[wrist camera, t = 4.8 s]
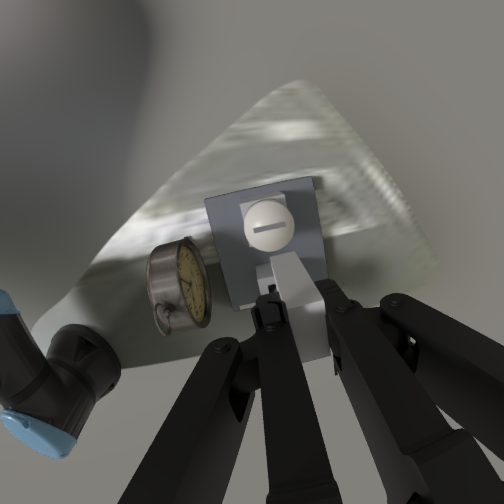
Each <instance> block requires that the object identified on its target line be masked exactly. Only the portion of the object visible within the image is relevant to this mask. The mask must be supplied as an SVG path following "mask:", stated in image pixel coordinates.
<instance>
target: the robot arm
mask: <svg viewBox="0 0 504 504" xmlns="http://www.w3.org/2000/svg"><path fill="white" fill-rule="evenodd" d="M270 261H271V265H272V270H273V274H274V279H275V283H276V288H277V292H273V293H269V294H264V295H260V296H259V297H258V298H257V300H256V301H255V303H256V305H255V306H254V307H253V308H252V309H251V314H252V318H253V322H254V325H255V329H256V333H255V334H254V335H253V336H252V337H251V338H249V339H247V340H245V341H243V342H241V343H239V342H238V340H237V339H235V338H233V337H224V338H219V339H216V340H214V341H213V342H211V343H209V344H208V346H207V347H206V348H205V350H204V352H203V353H202V355H201V357H200V359H199V361H198V362H197V364H196V366H195V368H194V370H193V371H192V373H191V375H190V377H189V378H188V380H187V382H186V384H185V386H184V387H183V389H182V391H181V393H180V395H179V396H178V398H177V400H176V402H175V403H174V405H173V407H172V409H171V410H170V412H169V414H168V416H167V418H166V420H165V421H164V423H163V425H162V426H161V428H160V430H159V432H158V434H157V435H156V437H155V439H154V441H153V442H152V444H151V446H150V447H149V449H148V451H147V453H146V454H145V456H144V458H143V460H142V462H141V463H140V465H139V467H138V468H137V470H136V472H135V474H134V476H133V477H132V479H131V481H130V483H129V484H128V486H127V488H126V490H125V491H124V493H123V495H122V496H121V498H120V500H119V502H118V503H117V504H222V501H223V499H224V496H225V493H226V490H227V486H228V483H229V480H230V477H231V474H232V470H233V468H234V465H235V462H236V458H237V455H238V452H239V448H240V445H241V442H242V439H243V435H244V432H245V429H246V425H247V422H248V418H249V415H250V412H251V408H252V404H253V401H254V398H255V390H257V389H259V388H261V398H262V410H263V421H264V433H265V445H266V456H267V468H268V478H269V493H268V495H267V497H266V504H343V503H342V499H341V495H340V492H339V488H338V485H337V483H336V481H335V480H334V477H333V474H332V470H331V466H330V463H329V459H328V455H327V452H326V448H325V444H324V441H323V437H322V433H321V430H320V426H319V422H318V419H317V415H316V412H315V408H314V405H313V401H312V398H311V394H310V391H309V387H308V384H307V380H306V377H305V373H304V370H303V366H302V363H304V362H308V361H312V360H316V359H320V358H323V357H327V356H331V353H330V348H331V349H332V352H333V359H334V369H335V375H338V373H339V376H340V378H341V380H342V383H343V385H344V387H345V390H346V392H347V395H348V397H349V399H350V402H351V404H352V407H353V409H354V411H355V414H356V417H357V419H358V421H359V424H360V426H361V429H362V431H363V434H364V436H365V439H366V441H367V444H368V446H369V449H370V451H371V454H372V457H373V459H374V462H375V464H376V467H377V469H378V472H379V475H380V477H381V480H382V483H383V485H384V488H385V491H386V494H387V504H504V481H501V479H500V478H499V476H498V475H497V473H496V471H495V470H494V468H493V466H492V465H491V463H490V462H489V460H488V459H487V457H486V455H485V454H484V452H483V451H482V449H481V448H480V446H479V445H478V443H477V442H476V440H475V439H474V438H473V436H474V437H475V438H476V439H477V440H479V441H480V442H481V443H482V444H483V445H485V446H486V447H487V448H488V449H489V450H490V451H492V452H493V453H494V454H495V455H496V456H497V457H499V458H500V459H501V460H503V461H504V346H503V345H501V344H499V343H497V342H495V341H494V340H492V339H490V338H488V337H486V336H485V335H483V334H481V333H479V332H477V331H475V330H474V329H471V328H470V327H468V326H466V325H464V324H462V323H460V322H459V321H457V320H455V319H453V318H451V317H449V316H447V315H445V314H443V313H441V312H440V311H438V310H436V309H434V308H432V307H430V306H428V305H426V304H424V303H422V302H420V301H418V300H416V299H414V298H412V297H410V296H408V295H406V294H401V293H393V294H389V295H387V296H385V297H383V298H382V299H381V301H380V307H374V308H363V307H362V306H361V304H360V303H359V302H357V301H355V300H351V299H348V298H347V296H346V295H345V294H344V292H343V291H342V290H341V289H340V287H339V286H338V285H337V283H336V282H335V281H333V280H331V279H328V278H327V279H323V280H319V281H315V282H313V281H312V279H311V277H310V276H309V274H308V272H307V271H306V269H305V267H304V266H303V264H302V262H301V261H300V259H299V258H298V256H297V254H296V253H295V251H293V252H289V253H284V254H280V255H276V256H272V257H270ZM410 337H412V338H413V339H414V340H415V341H416V342H415V344H414V343H412V342H411V341H410ZM337 371H338V373H337ZM120 376H121V367H120V363H119V360H118V358H117V356H116V354H115V352H114V351H113V349H112V348H111V347H110V345H109V344H108V343H107V342H106V341H105V340H104V339H103V338H102V337H100V336H99V335H98V334H96V333H95V332H93V331H92V330H90V329H88V328H86V327H83V326H80V325H74V324H70V325H66V326H63V327H62V328H60V329H59V331H58V332H57V333H56V334H55V335H54V336H53V338H52V340H51V344H50V346H49V349H48V352H47V355H46V358H45V356H44V355H43V353H42V352H41V350H40V349H39V347H38V345H37V344H36V342H35V340H34V339H33V337H32V335H31V333H30V332H29V330H28V328H27V326H26V325H25V323H24V321H23V319H22V317H21V315H20V312H19V311H18V310H17V308H16V307H15V305H14V303H13V301H12V299H11V297H10V296H9V294H8V293H7V292H6V291H5V290H3V289H0V404H1V405H2V406H3V408H4V409H3V410H2V411H1V420H2V422H3V423H4V425H5V427H6V428H7V429H8V430H9V431H10V432H11V433H12V434H13V435H14V436H15V437H17V438H18V439H19V440H20V441H21V442H23V443H24V444H26V445H27V446H29V447H30V448H32V449H34V450H35V451H37V452H39V453H41V454H43V455H46V456H48V457H52V458H57V459H61V458H65V457H67V456H68V455H69V453H70V451H71V450H72V448H73V447H74V445H75V444H76V443H77V439H78V436H79V435H80V433H81V431H82V429H83V427H84V425H85V423H86V421H87V419H88V417H89V415H90V413H91V411H92V409H93V407H94V405H95V403H96V402H97V401H99V400H100V399H101V398H102V397H104V396H105V395H106V394H108V393H109V392H110V391H112V390H113V389H114V387H115V386H116V384H117V382H118V381H119V378H120ZM435 404H436V405H437V406H438V407H439V408H440V409H441V410H443V411H444V412H445V413H446V414H447V415H449V416H450V417H451V418H452V419H453V420H455V421H456V422H457V423H458V424H460V425H461V426H462V427H463V428H464V429H463V428H461V429H457V430H454V429H452V428H451V427H450V425H449V424H448V423H447V421H446V420H445V418H444V417H443V415H442V414H441V412H440V411H439V409H438V408H437V406H436V405H435Z"/></svg>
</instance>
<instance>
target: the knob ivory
mask: <svg viewBox="0 0 504 504" xmlns="http://www.w3.org/2000/svg"><path fill="white" fill-rule="evenodd" d="M294 228H295V225H294V219H293V217H292V215H291V213H290V212H289V210H288V209H287V208H286V207H284V206H283V205H282V204H281V203H280V202H278V201H275V200H272V199H262V200H259V201H257V202H255V203H253V204H252V205H251V206H250V207H249V208H248V210H247V212H246V214H245V218H244V232H245V235H246V238H247V240H248V241H249V242H250V244H251V245H252V246H254V247H255V248H257V249H259V250H261V251H266V252H272V251H277V250H279V249H281V248H283V247H284V246H286V245H287V244H288V243H289V241H290V240H291V238H292V236H293V234H294Z"/></svg>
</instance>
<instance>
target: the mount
mask: <svg viewBox="0 0 504 504" xmlns="http://www.w3.org/2000/svg"><path fill="white" fill-rule="evenodd" d="M262 199H272V200H275V201H278V202H280V203H281V204H282V205H283V206H284V207H286V208H287V209H288V210H289V212H290V213H291V215H292V217H293V219H294V225H295V228H294V234H293V236H292V238H291V240H290V241H289V243H288V244H287V245H286V246H284V247H283V248H281V249H279V250H277V251H272V252H266V251H261V250H259V249H257V248H255V247H254V246H252V245H251V244H250V242H249V241H248V240H247V238H246V235H245V232H244V218H245V214H246V212H247V210H248V208H249V207H250V206H251V205H252V204H253V203H255V202H257V201H259V200H262ZM204 203H205V207H206V211H207V215H208V219H209V223H210V226H211V230H212V234H213V238H214V242H215V246H216V249H217V253H218V257H219V260H220V264H221V268H222V272H223V275H224V279H225V282H226V286H227V290H228V293H229V297H230V300H231V304H232V307H233V311H238V310H243V309H248V308H253V307H254V306H255V305H256V303H255V301H256V300H257V298H258V297H259V296H260V295H264V294H269V293H273V292H274V289H275V288H276V283H275V279H274V274H273V270H272V265H271V261H270V257H272V256H276V255H280V254H284V253H289V252H293V251H295V253H296V254H297V256H298V258H299V259H300V261H301V262H302V264H303V266H304V267H305V269H306V271H307V272H308V274H309V276H310V277H311V279H312V281H313V282H315V281H319V280H323V279H327V278H328V272H327V265H326V258H325V251H324V245H323V238H322V232H321V226H320V220H319V214H318V208H317V203H316V197H315V192H314V187H313V182H312V177H310V176H307V177H302V178H296V179H291V180H286V181H281V182H277V183H272V184H267V185H262V186H258V187H253V188H249V189H244V190H240V191H236V192H231V193H227V194H223V195H219V196H215V197H211V198H207V199H205V200H204Z"/></svg>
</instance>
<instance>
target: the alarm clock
mask: <svg viewBox="0 0 504 504" xmlns="http://www.w3.org/2000/svg"><path fill="white" fill-rule="evenodd" d="M146 283H147V290H148V295H149V299H150V302H151V305H152V307H153V310H154V320H155V323H156V325H157V328H158V329H159V331H160V332H161V334H162V335H164V336H167V337H168V336H169V335H170V333H171V330H172V331H175V332H180V331H187V330H193V329H199V328H205V327H206V326H207V325H208V324H209V322H210V318H211V310H212V304H211V292H210V286H209V280H208V276H207V272H206V269H205V266H204V263H203V260H202V258H201V255H200V253H199V251H198V249H197V248H196V246H195V245H194V244H193V242H192V241H190V240H189V239H188V237H184V239H182V240H178V241H174V242H170V243H166V244H163V245H159V246H157V247H156V248H155V249H154V250H153V251H152V252H151V254H150V256H149V259H148V263H147V269H146ZM157 317H158V319H159V320H160V321H161V323H162V324H163V325H164V326H165V327H167V328H168V333H165V332H163V330H162V329H161V327H160V325H159V322H158V319H157Z"/></svg>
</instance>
